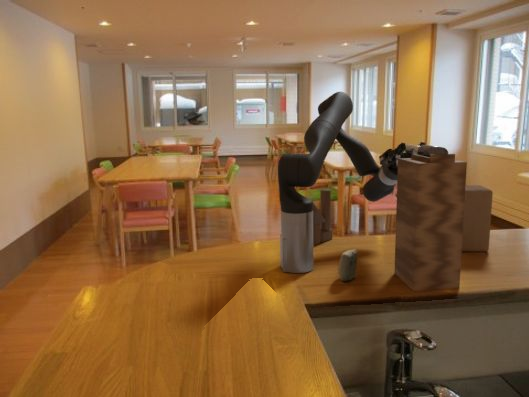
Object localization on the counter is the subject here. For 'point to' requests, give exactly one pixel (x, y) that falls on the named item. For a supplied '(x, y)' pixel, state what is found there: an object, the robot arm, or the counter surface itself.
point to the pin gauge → (425, 150)
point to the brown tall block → (430, 221)
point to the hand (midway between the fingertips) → (414, 145)
